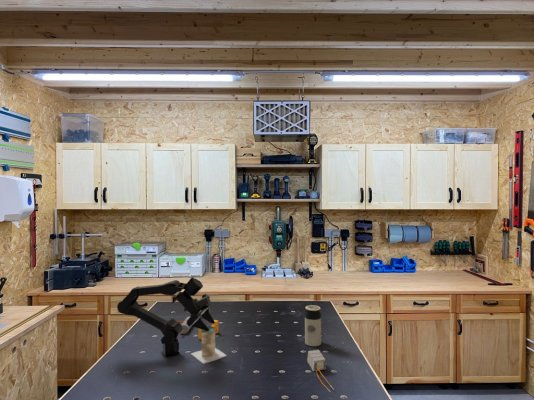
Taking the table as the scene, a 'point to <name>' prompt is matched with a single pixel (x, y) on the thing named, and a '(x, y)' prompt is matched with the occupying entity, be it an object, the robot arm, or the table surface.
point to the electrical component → (317, 363)
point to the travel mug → (313, 325)
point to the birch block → (208, 342)
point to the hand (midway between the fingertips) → (211, 326)
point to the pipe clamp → (211, 326)
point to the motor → (185, 326)
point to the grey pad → (204, 360)
